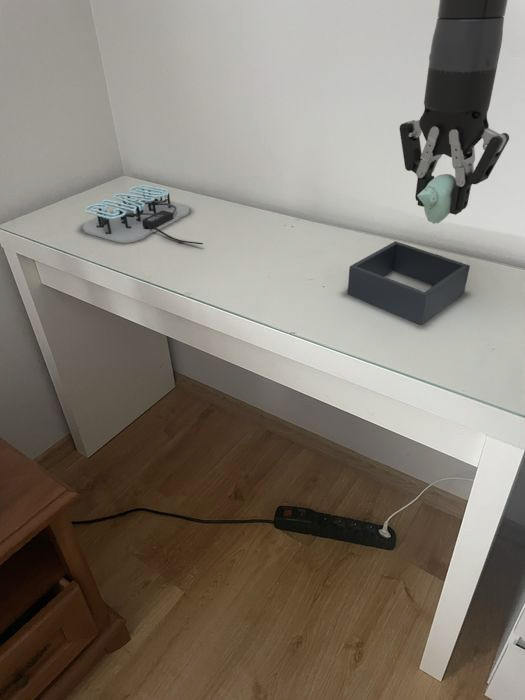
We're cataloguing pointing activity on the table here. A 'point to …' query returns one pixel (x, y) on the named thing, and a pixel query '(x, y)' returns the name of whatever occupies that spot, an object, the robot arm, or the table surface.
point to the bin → (403, 298)
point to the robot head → (438, 197)
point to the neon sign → (135, 216)
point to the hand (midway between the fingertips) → (439, 208)
